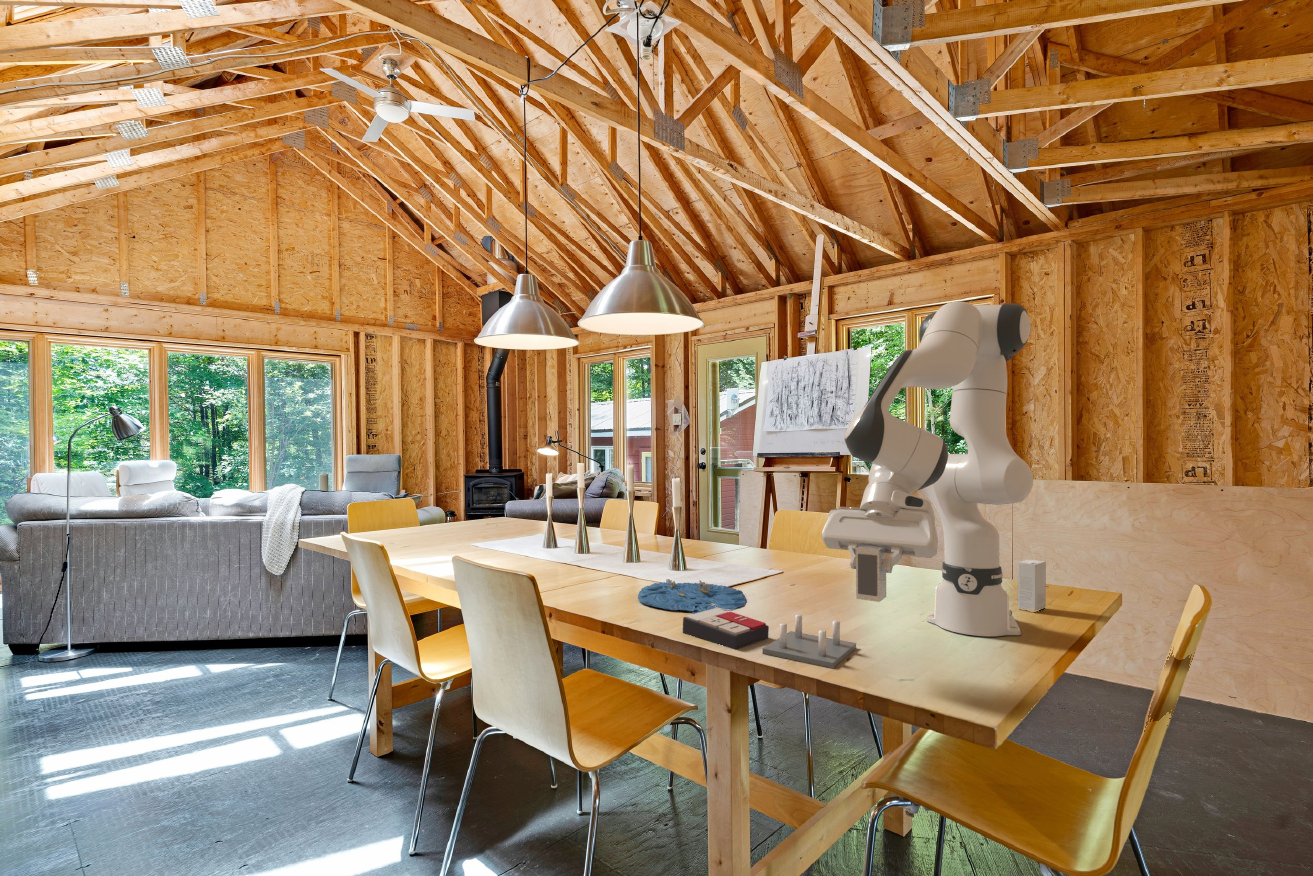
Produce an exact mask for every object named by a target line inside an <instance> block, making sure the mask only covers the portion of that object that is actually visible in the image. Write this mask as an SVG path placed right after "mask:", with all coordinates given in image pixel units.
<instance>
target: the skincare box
mask: <svg viewBox="0 0 1313 876" xmlns="http://www.w3.org/2000/svg"><path fill="white" fill-rule="evenodd" d="M1017 571H1018V574H1017V575H1018V576H1017V577H1018V578H1017V581H1018V582H1017V609H1018V608H1022V609H1028V610H1034V611H1036V610H1039V609H1042V608H1045V607H1046V603H1047V602H1046V601H1047V600H1046V599H1047V597H1046V593H1047V590H1046V589H1047V587H1046V586H1047V585H1046V584H1047V581H1046V580H1047V578H1046V577H1047V562H1046V561H1044V560H1036V559H1026V560H1022V561H1019V562H1018V570H1017ZM1045 609H1046V608H1045Z"/></svg>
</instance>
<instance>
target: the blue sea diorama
mask: <svg viewBox="0 0 1313 876" xmlns="http://www.w3.org/2000/svg"><path fill="white" fill-rule="evenodd" d="M698 581H699V582H694V583H693V582H677V583H676V582H675V580H674V581H673V580H672V579H669V578H667V579H666V580H665V581H663V582H655V583H652V584H650V585H646V586H644V587H642V588H641V589H640V590H639V592H638V594H637V600H639V602H641V603H642V604H644V605H647V606H651V607H653V608H659V609H664V610H670V611H673V612H674V611H679V610H680V611H687V612H689V613H691V614H695V613H699V612H703V611H707V610H710V609H714V608H718V609H721V610H724V611H728V612H733V611H734V610H735V609H737V608H740V607H745V605H746V602H747V600H748V599H747V598H746V597H744V592H743V591H742V590H740V589H736V588H734V587H728V586H726V585H722V584H720V585H718V584H713V583H706V582H703V581H702V580H700V579H699V580H698Z"/></svg>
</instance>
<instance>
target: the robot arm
mask: <svg viewBox="0 0 1313 876" xmlns="http://www.w3.org/2000/svg"><path fill="white" fill-rule="evenodd" d="M1028 313H1029V312H1028V311H1027V309H1026V308H1025V307H1024V306H1023V305H1022V304H1017V303H1008V302H1006V303H1002V304H976V305H973V304H971V303H968V302H966V301H960V300H959V301H950V302H948V303H946V304H943V305H942V306H941V307H939V309H937V310H936V311H935V312H932V313H930V314H928V315H927V316H925V317H924V319H923V320H922V321H921V323H920V326H919V330H918V338H919V344H918V346H917V347H916V348H914V349H909V350H908V349H907V350H904V351H902V352H901V353H900V355H898V356H897V358H896V359H895V360H894V361H893V362H892V364H891V365H890V367H889V368H888V370H886V373H885V374H884V375H883V376H882V378H881V380H880V381H879V383H878V384H877V386H876V387H875V389H874V390H873V392H872V394H871V395H870V397H869V398H868V400H867V402H866V403H865V405H864V406H863V408H862V409H861V410H860V411H859V412H858V413H857V414H856V415H855V416H854V418H853V419H852V420H851V422H850V423H849V425H848V426H847V429H846V431H845V434H844V435H845V436H844V442H845V444H846V447H847V449H848V452H849V454H850V455H851V456H852V457H853V458H855V459H858V460H861V461H864V462H867V463H871V467H870V470H869V474H868V483H867V485H866V486H865V488H864V491H863V494H862V495H863V496H862V499H861V502H860V506H859V507H857V506H854V507H853V506H850V507H848V506H847V507H846V506H837V508H836V507H835V508H833V509H831V510H830V511H829V512H828V515H827V518H826V519H827V520H826V522H825V524H824V525H823V528H822V531H821V539H822V542H823V544H824V545H825V547H826V548H827V549H832V550H840V551H841V550H842V551H849V554H850V558H851V559H850V561H849V563H850V564H849V566H850V568H851V570H856V548H857V547H859V546H862V545H873V546H884V547H886V555H890V556H889V557H888V558H886V559H883V560H882V565H881V569H882V572H884V573H886V574H892V572H893V567H894V566H896V565H897V564H898V563H899V562H900V561H901V560H902V558H903V557H904V556H905V557H914V558H915V557H916V558H927V559H933V557H935V556H936V555H937V554H938V548H939V547H938V546H939V544H938V543H939V538H938V530H937V526H936V523H935V522H936V518H935V513H934V510H933V506H934V507H935V510H936V512H937V514H938V517H939V520H940V523H941V526H942V533H943V547H944V548H943V552H944V560H943V561H942V567H941V573H942V574H941V575H942V578H943V579H942V581H941V582H940V583H939V584H937V585H935V591H934V612H933V613H931V614H929V615H927V616H926V621H927V622H929V623H930V624H933V625H936V626H938V627H940V628H942V629H944V630H947V631H950V632H954V633H958V634H962V635H967V636H968V635H970V636H977V637H1001V636H1020V635H1021V634H1022V633H1021V629H1020V627H1019V625H1018V622H1017V621H1016V619H1015V617H1014V615H1013V611H1012V609H1010V594H1008V593H1007V591H1006V590H1005V589H1004V588H1003V586H1002V583H1003V571H1002V570H1003V569H1002V566H1000V534H999V531H998V529H997V528H996V526H994V525H993V524H992V523H991V522H989V521H987V519H986V518H984V517H983V515H982V514H981V512H980V509H979V507H978V504H980V505H981V504H983V505H996V506H1003V505H1010V504H1018V503H1021V502H1023V501H1024V500H1025V499H1026V498H1027V497H1029V495H1030V494H1031V492H1032V489H1033V486H1034V477H1033V476H1034V475H1033V472H1032V469H1031V467H1030V466H1029V465H1028V464H1027V463H1028V462H1026V461H1025V460H1024V459H1023V458H1021V457H1020V456H1019V455H1018V454H1017V453H1016V452H1015V450H1014V449H1013V446H1012V445H1011V443H1010V441H1009V438H1008V436H1007V429H1006V410H1007V409H1006V408H1007V397H1008V396H1007V394H1008V370H1007V368H1008V367H1007V362H1009V361H1011V360H1012V359H1013V357H1014V355H1017V354H1018V353H1020V352H1021V351H1022V349H1023V348H1025V346H1026V344H1027V343H1028V341H1029V336H1030V335H1031V329H1032V326H1031V325H1032V324H1031V323H1032V322H1031V319H1030V316H1029V314H1028ZM905 388H922V389H929V390H942V389H948V388H952V391H951V392H952V394H951V403H950V404H951V405H950V413H949V424H950V428H951V429H952V430H953V431H954V433H956V434H957V435H958V436H961V437H962V438H963V439H965V442H966V446H967V453H949V449H948V445H947V443H946V441H945V440H944V438H942V437H940V436H939V435H937V434H935V433H932V432H931V431H928V430H926V429H924V428H922V427H918V426H916V425H914V424H912V423H908V422H907V421H906V420H903V419H900V418H899V417H896V416H894V415H893V414H892V413H891V412H890V410H889V408H890V407H891V406H892V403H894V401H895V398H896V397H897V395H898V394H899V392H900V391H901V390H902V389H905ZM915 491H920V492H922V493H923V494H924V495H925V496H926V497H927V499H926V498H922V497H919V496H916V495H913V493H914V492H915ZM928 499H929V500H928ZM931 503H932V504H931ZM932 505H933V506H932Z"/></svg>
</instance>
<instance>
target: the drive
mask: <svg viewBox="0 0 1313 876" xmlns="http://www.w3.org/2000/svg"><path fill="white" fill-rule="evenodd" d="M855 556H856V569H855V578H856V581H855V585H856V586H855V587H856V590H855V592H856V595H855V598H856V600H861V601H862V600H863V601H870V602H877V603H880V602H881V601H882V600H884V599H885V598H887V573H884V572H882V569H881V565H882V560H883V559H886V560H887V554H886V547H884V546H873V545H862V546H859V547H857V548H856V555H855Z"/></svg>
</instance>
